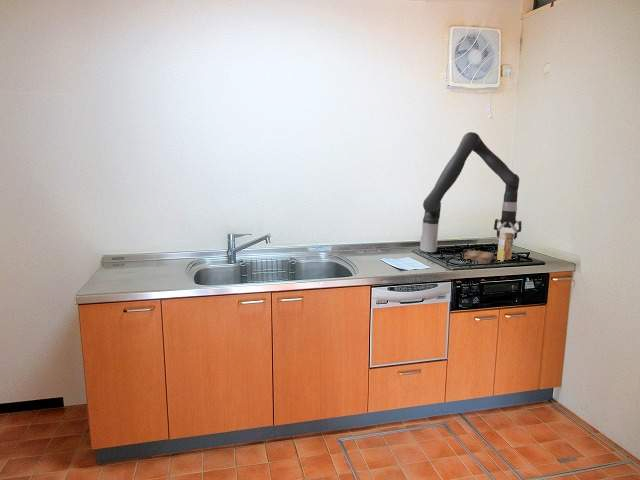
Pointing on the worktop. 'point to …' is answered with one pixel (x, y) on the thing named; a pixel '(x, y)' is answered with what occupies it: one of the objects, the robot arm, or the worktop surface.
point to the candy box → (505, 246)
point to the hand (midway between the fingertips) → (506, 238)
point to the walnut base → (479, 256)
